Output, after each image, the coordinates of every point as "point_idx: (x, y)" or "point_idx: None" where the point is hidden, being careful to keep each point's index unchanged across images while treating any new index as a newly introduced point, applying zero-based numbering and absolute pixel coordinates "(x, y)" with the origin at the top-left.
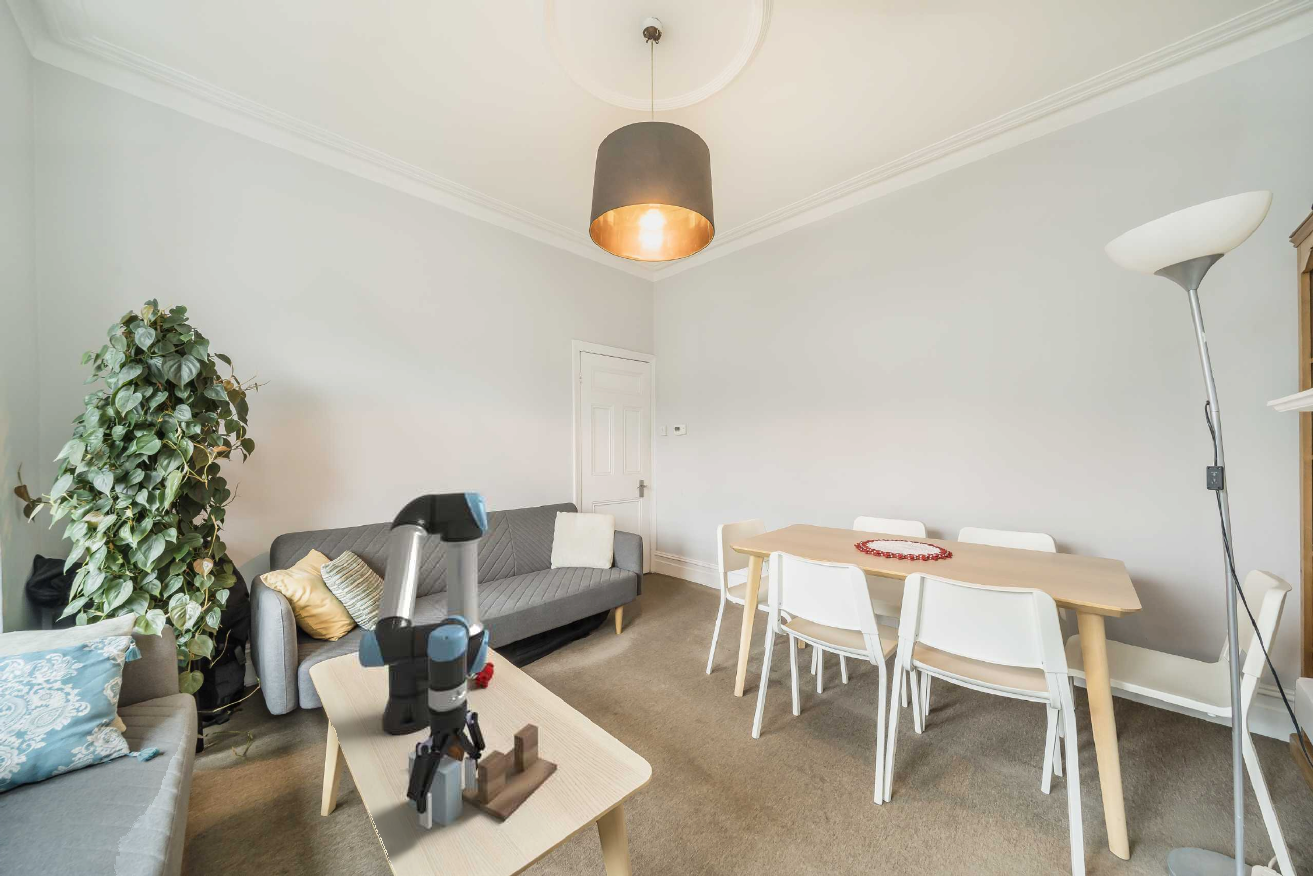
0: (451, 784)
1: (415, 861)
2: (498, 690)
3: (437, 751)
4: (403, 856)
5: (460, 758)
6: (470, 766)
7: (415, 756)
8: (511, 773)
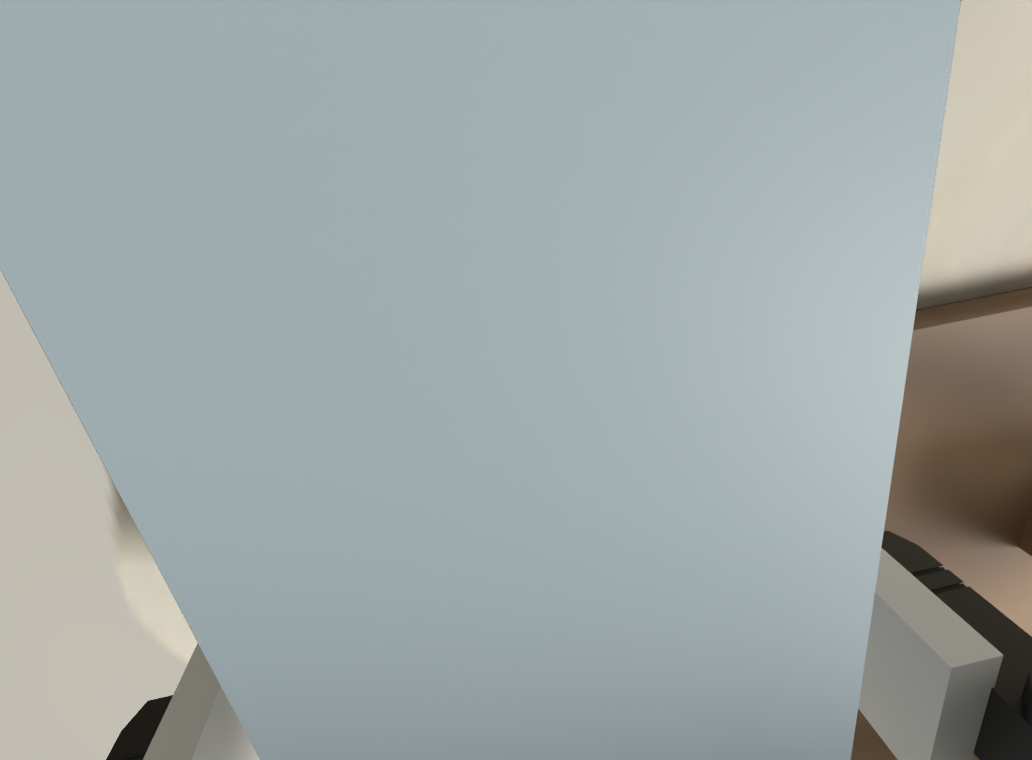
0: None
1: (183, 633)
2: None
3: (878, 528)
4: (125, 554)
5: None
6: (869, 685)
7: (83, 63)
8: (983, 504)
